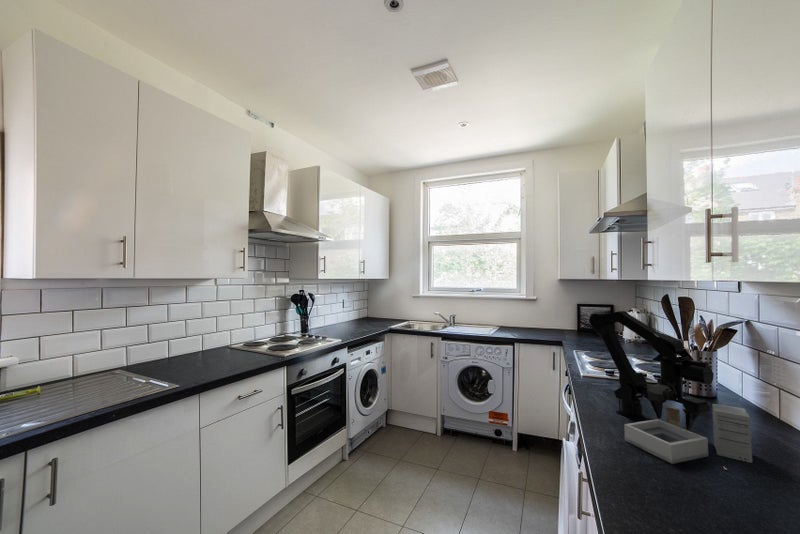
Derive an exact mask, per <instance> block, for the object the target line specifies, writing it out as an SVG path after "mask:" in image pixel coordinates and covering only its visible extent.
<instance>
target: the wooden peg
mask: <svg viewBox="0 0 800 534" xmlns="http://www.w3.org/2000/svg"><path fill="white" fill-rule="evenodd" d="M680 412H681V411H680V409H679V408H677V407H673V406H666V407H665V414H666V422H667V423H670V424H672V425H675V426H677V427H680V428H681V413H680Z"/></svg>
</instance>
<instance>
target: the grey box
mask: <svg viewBox="0 0 800 534" xmlns="http://www.w3.org/2000/svg"><path fill="white" fill-rule="evenodd" d="M708 439H709V438H707V437H706V436H702V435H700V434H698V433H695V432H692V431H690V430H687V429H684V428H682V427H681V426H680V427H677V426H675V425H672V424H670V423H667V421H664V420H661V419H658V418H656V419H655V418H654V419H650V420H644V421H636V422H630V423H624V441H625V442H627V443H629V444H631V445H633V446H635V447H637V448H639V449H641V450H643V451H645V452H647V453H650V454H651V455H652V456H655V457H657V458H659V459H660V460H661V459H662V460H663V461H665V462H668V463H669V464H671V465H673V464H677V463H678V464H679V463H682V462H689V461H692V460H697V459H702V458H706V457H709V440H708Z"/></svg>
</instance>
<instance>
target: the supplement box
mask: <svg viewBox="0 0 800 534" xmlns="http://www.w3.org/2000/svg"><path fill="white" fill-rule="evenodd" d="M711 405H712V406H711V407H712V408H711V409H712V425H713V427H712V428H713V429H712V431H713V446H714V447H715V451H716V455H717V456H720V457H725V458H728V459H732V460H733V459H734V460H736V461H741V460H742V461H741V462H745V461H746V462H747V463H751V464H753V451H752V450H753V449H752V430H751V429H752V428H751V416H750V415H749V413H748V412H747V409H746V408H743V407H737V406H736V407H735V406H730V405H723V404H716V403H712V404H711Z"/></svg>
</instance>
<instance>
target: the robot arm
mask: <svg viewBox="0 0 800 534" xmlns="http://www.w3.org/2000/svg"><path fill="white" fill-rule="evenodd" d="M588 322H589V326H591V328H592V329H593V331H594V332H596V333H597V335H599V336H600V337H601V339H602V341H603V342H604V345H605V346H606V348H607V350H608V352H609V354H610V357H611V359H612V361H613V363H614V365H615V367H616V369H617V371H618V382H619V383H618V384H619V386H620V387H619V388H617V389H616V390H614V395H615V398H616V399H618V410H615V412H616V413H617V414H620V415H622V416H623V417H626V418H629V419H638V418H643V417H645V414H643V408H642V404H641V402H642V401H641V399H643V398H644V399H647V401H649V402H650V404H651V406H652V409H653V410H654V414H655V415H656V419H659V420H661V419H662V416H663V405H664V403H666V402H667V401H669V402H670V401H672V402H676V403H679V404H682V406H683V409H682V412H684V414H685V427H686V429H685V430H688V431H690V430H691V429H692V428H693V425H694V424H695V422H696V421H697V419H698V418H699V416H700V415H701V414H704V413H707V412H711V405H710V404H709V403H708V401H706V400H703V399H699V398H696V397H694V398H685V397H687V393H686V392H684V387H683V385H686V384H687V383H686V381H688V382H692V383H697V384H702V385H706V386H710V385H712V384H713V382H714V381H713V379H714V376H715V375H714V372H713V369H712V368H711V366H710V364H709V362H708V361H699V360H694V358H693V357H692V355H691V354H690V353H689V352H688V350H686V348H685V345H684V344H685V343H684V342H682V341H681V340H680V339H678V338H676V337H673V336H671V335H668V334H665V333H661V332H659V331H657V330H655V329H654V328H652V327H651V326H649V325H647V324H646V323H644V322H642V321H640V320H639V318H638V319H637V318H636V317H634V316H633V315H632V314H630V313H629V312H627V311H626V310H617V311H614V312H609V313H608V312H597V313H592V314H590V316H589V318H588ZM617 323H619V324H620V325H623V326H624V327H625V328H627V329H629V331H631V332H633V333H635V334H636V335H638V336H639V337H640V338H642V339H643V340H646V342H648V343H649V345H650V347H651V348H652V349H653V350H654V351H655V352H656V353H657V355H656V356H655V357H653V358H652V360H653V361H655V362H659V365H660V366H659V367H660V368H659V369H660V378H659V377H658V378H657V382H656V384H654V385H652V384H649V383H648V381H647V380H646V378H645V375H644V373H642V372H637V371H636V370H635V369H634V368H633V366H632V364H631V362H630V360H629V358H628V356H627V354H626V351H625V350H624V349H623V347H622V344H621V342H620V340H619V338H618V336H617V334H616V331H615V330H616V325H615V324H617ZM683 379H684V380H683Z"/></svg>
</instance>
